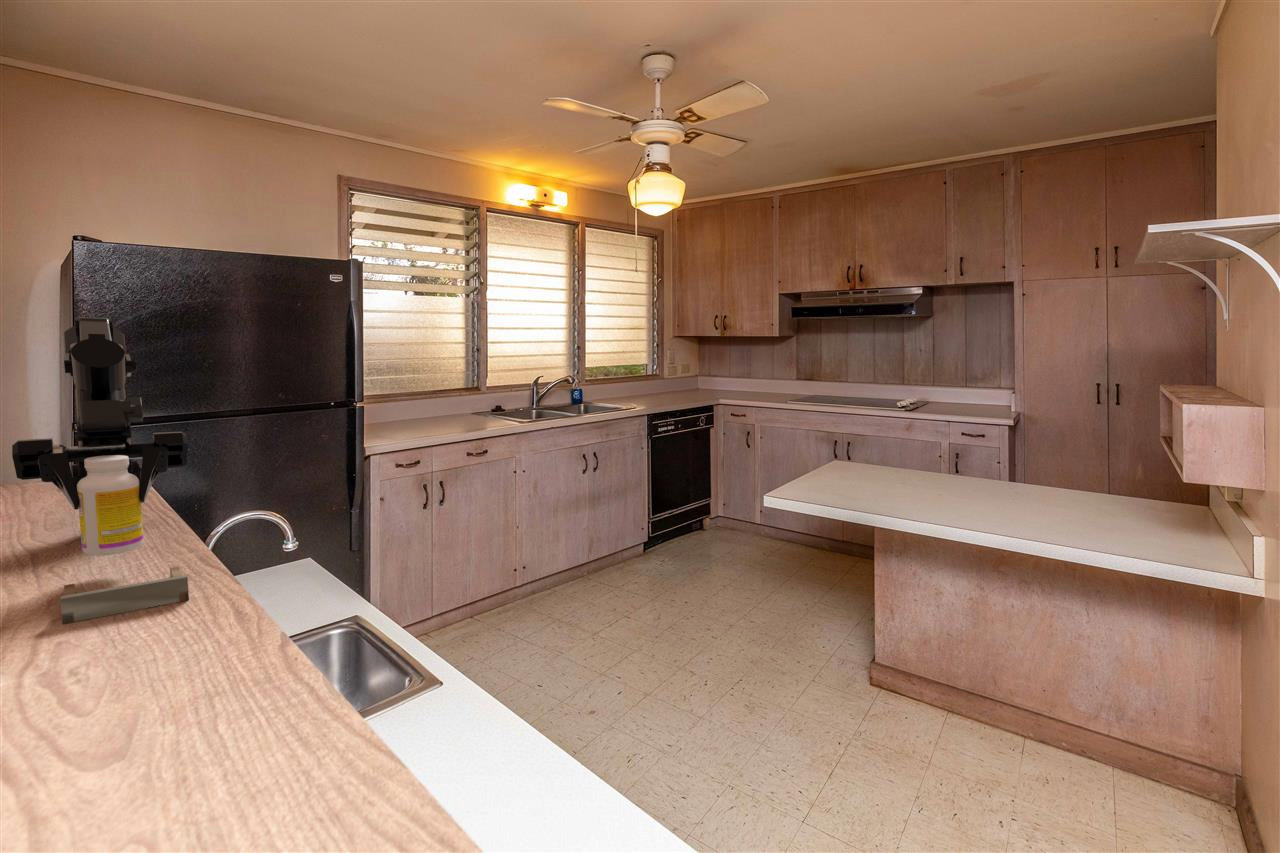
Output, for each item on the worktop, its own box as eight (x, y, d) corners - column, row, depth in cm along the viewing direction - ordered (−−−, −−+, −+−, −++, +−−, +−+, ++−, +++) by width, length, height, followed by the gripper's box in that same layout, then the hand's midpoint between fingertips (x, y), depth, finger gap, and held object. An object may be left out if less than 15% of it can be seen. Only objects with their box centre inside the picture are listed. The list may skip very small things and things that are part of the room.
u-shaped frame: (65, 594, 83) (63, 571, 83) (179, 574, 91) (178, 554, 91) (62, 624, 75) (60, 599, 74) (188, 599, 82) (187, 577, 82)
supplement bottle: (156, 543, 93) (150, 454, 91) (114, 558, 86) (107, 463, 85) (113, 540, 94) (106, 452, 92) (68, 555, 87) (60, 460, 85)
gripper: (6, 378, 84) (6, 478, 77) (182, 377, 96) (196, 463, 89) (17, 431, 91) (17, 527, 84) (179, 424, 103) (192, 507, 96)
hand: (110, 504), depth 88 cm, fingers closed on supplement bottle, 7 cm apart
